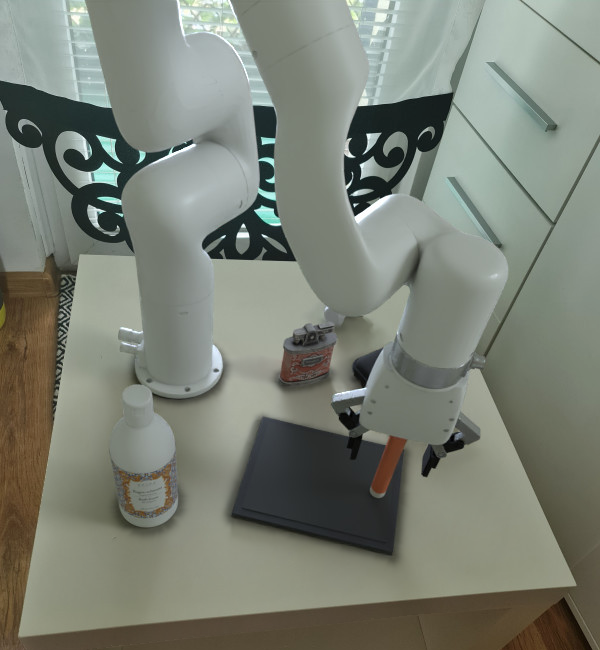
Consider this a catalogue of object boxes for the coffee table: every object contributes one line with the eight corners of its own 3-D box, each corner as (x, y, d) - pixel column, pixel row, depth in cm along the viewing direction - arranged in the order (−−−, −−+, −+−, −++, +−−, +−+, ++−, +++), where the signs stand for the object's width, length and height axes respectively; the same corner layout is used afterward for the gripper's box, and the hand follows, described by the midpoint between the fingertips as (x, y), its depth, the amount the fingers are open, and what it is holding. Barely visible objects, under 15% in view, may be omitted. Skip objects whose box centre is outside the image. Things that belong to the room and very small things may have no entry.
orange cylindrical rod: (368, 496, 78) (390, 438, 69) (370, 483, 80) (392, 425, 71) (384, 499, 78) (407, 442, 69) (385, 487, 79) (409, 429, 71)
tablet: (231, 516, 75) (231, 512, 74) (262, 419, 86) (262, 415, 85) (391, 555, 74) (393, 551, 73) (402, 452, 85) (404, 448, 84)
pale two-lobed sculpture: (345, 304, 106) (369, 312, 103) (315, 323, 102) (338, 331, 99) (344, 281, 104) (368, 288, 101) (312, 300, 99) (337, 307, 96)
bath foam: (120, 533, 72) (100, 425, 57) (118, 483, 76) (98, 371, 61) (181, 525, 73) (176, 418, 58) (175, 477, 78) (169, 366, 63)
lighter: (283, 390, 90) (291, 340, 82) (275, 374, 92) (281, 324, 84) (332, 378, 93) (344, 329, 85) (323, 363, 94) (334, 313, 87)
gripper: (515, 349, 63) (461, 451, 76) (349, 311, 64) (323, 419, 77) (518, 402, 58) (459, 501, 71) (338, 360, 59) (312, 466, 71)
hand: (389, 458), depth 74 cm, fingers open, 8 cm apart
